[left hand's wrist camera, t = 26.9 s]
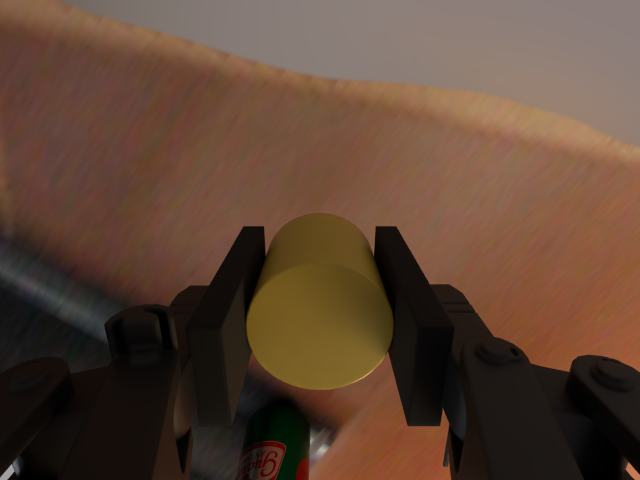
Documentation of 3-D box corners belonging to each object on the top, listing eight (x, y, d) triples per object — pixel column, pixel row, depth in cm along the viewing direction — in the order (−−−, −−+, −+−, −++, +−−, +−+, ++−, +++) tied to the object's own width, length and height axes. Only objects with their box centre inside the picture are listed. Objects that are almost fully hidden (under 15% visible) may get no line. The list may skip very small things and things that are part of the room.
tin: (347, 323, 16) (358, 407, 11) (252, 290, 15) (226, 365, 11) (390, 236, 14) (420, 293, 10) (288, 196, 14) (274, 239, 10)
